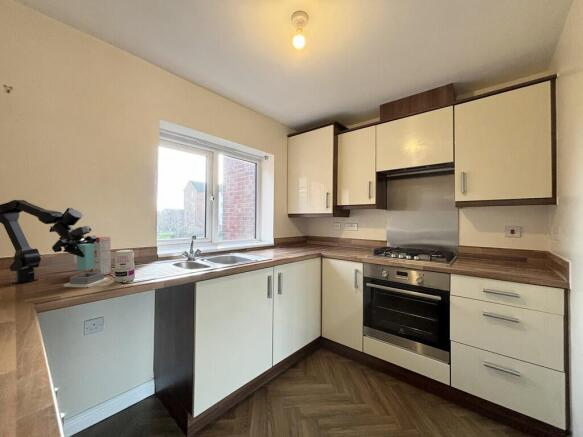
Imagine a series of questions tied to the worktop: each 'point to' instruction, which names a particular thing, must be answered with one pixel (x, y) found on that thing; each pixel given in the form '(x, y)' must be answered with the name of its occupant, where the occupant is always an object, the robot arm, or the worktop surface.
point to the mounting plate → (86, 280)
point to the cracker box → (101, 255)
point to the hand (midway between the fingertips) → (88, 255)
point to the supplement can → (124, 265)
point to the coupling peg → (86, 257)
